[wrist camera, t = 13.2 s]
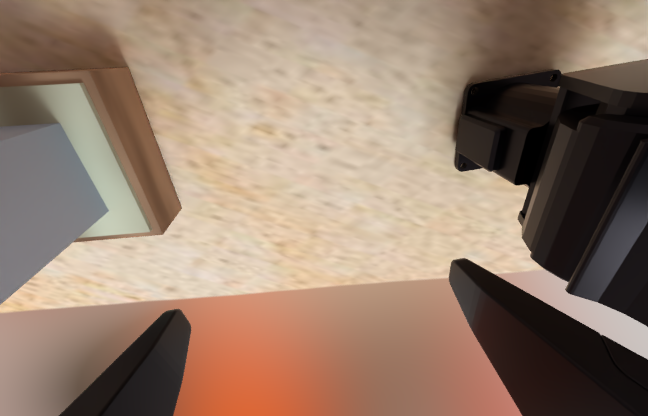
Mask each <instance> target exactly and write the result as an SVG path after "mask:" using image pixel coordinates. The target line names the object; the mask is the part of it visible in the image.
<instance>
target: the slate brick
mask: <svg viewBox="0 0 648 416" xmlns="http://www.w3.org/2000/svg"><path fill="white" fill-rule="evenodd" d="M108 211H109V210H108V208H107V207H106V205H105V203H104V201H103V199H102V198H101V196H100V194H99V192H98V190H97V189H96V187H95V185H94V183H93V181H92V180H91V178H90V176H89V174H88V172H87V171H86V169H85V167H84V165H83V163H82V162H81V160H80V158H79V156H78V155H77V153H76V151H75V149H74V147H73V146H72V144H71V142H70V140H69V138H68V137H67V135H66V133H65V131H64V129H63V128H62V126H61V124H60V123H51V124H35V125H19V126H3V127H0V304H2V303H3V302H4V301H5V300H6V299H7V298H9V297H10V296H11V295H12V294H13V293H14V292H16V291H17V290H18V289H19V288H20V287H21V286H22V285H24V284H25V283H26V282H27V281H28V280H29V279H31V278H32V277H33V276H34V275H35V274H36V273H38V272H39V271H40V270H41V269H42V268H43V267H45V266H46V265H47V264H48V263H49V262H50V261H52V260H53V259H54V258H55V257H56V256H57V255H58V254H60V253H61V252H62V251H63V250H64V249H65V248H67V247H68V246H69V245H70V244H71V243H72V242H74V241H75V240H76V239H77V238H78V237H79V236H81V235H82V234H83V233H84V232H85V231H86V230H88V229H89V228H90V227H91V226H92V225H93V224H94V223H96V222H97V221H98V220H99V219H100V218H101V217H103V216H104V215H105V214H106V213H107V212H108Z"/></svg>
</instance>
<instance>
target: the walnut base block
mask: <svg viewBox="0 0 648 416" xmlns="http://www.w3.org/2000/svg"><path fill="white" fill-rule="evenodd" d="M51 123H60V124H61V126H62V128H63V129H64V131H65V133H66V135H67V137H68V138H69V140H70V142H71V144H72V146H73V147H74V149H75V151H76V153H77V155H78V156H79V158H80V160H81V162H82V163H83V165H84V167H85V169H86V171H87V172H88V174H89V176H90V178H91V180H92V181H93V183H94V185H95V187H96V189H97V190H98V192H99V194H100V196H101V198H102V199H103V201H104V203H105V205H106V207H107V208H108V210H109V211H108V212H107V213H106V214H105V215H104V216H103V217H101V218H100V219H99V220H98V221H97V222H96V223H94V224H93V225H92V226H91V227H90V228H89V229H88V230H86V231H85V232H84V233H83V234H82V235H81V236H79V237H78V238H77V239H76V240H75V241H74V242H82V241H94V240H105V239H117V238H128V237H140V236H152V235H163V234H164V232H165V231H166V229H167V228H168V227H169V225H170V224H171V222H172V221H173V220H174V218H175V217H176V216H177V214H178V213H179V211H180V210H181V209H182V208H181V205H180V203H179V200H178V197H177V195H176V192H175V189H174V187H173V184H172V182H171V179H170V176H169V174H168V171H167V168H166V166H165V163H164V160H163V158H162V155H161V153H160V150H159V147H158V145H157V142H156V139H155V137H154V134H153V131H152V129H151V126H150V124H149V121H148V118H147V116H146V113H145V110H144V108H143V105H142V102H141V100H140V97H139V95H138V92H137V89H136V87H135V84H134V81H133V79H132V76H131V73H130V71H129V68H128V67H121V68H100V69H79V70H58V71H37V72H16V73H0V127H3V126H19V125H35V124H51Z"/></svg>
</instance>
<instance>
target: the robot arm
mask: <svg viewBox="0 0 648 416" xmlns="http://www.w3.org/2000/svg"><path fill="white" fill-rule="evenodd" d="M552 75H553V76H552ZM551 76H552V79H551V80H550V77H551ZM558 86H559V87H560V88H558ZM473 88H475V92H474V93H473V94H471V91H472V89H473ZM456 151H457V153H456V161H455V168H456V169H457V170H459V171H461V172H463V171H469V170H475V169H480V168H484V169H486V170H487V171H489V172H491V171H493V172H495V173H496V174H498V175H499V176H501V177H503V178H504V179H506V180H508V181H509V182H511V183H513V184H514V185H525V186H527V187H528V188H529V190H528V193H527V196H526V200H525V203H524V206H523V209H522V211H520V213H519V216H518V220H519V222H520V224H521V225H522V239H523V240H524V242H525V243H526V245H527V247H528V248H529V250H530V251H531V254H530V257H531V258H532V259H533V260H534V261H535V262H537V263H538V264H539V265H540V266H542V267H543V268H544V269H545V270H547V271H549V272H550V273H552V274H554V275H555V276H557V277H559V278H560V279H562V280H565V281H567V282H569V283H568V285H567V287H566V289H565V290H566V291H567V292H568V293H569V294H572V295H575V296H579V297H582V298H585V299H588V300H592V301H595V302H598V303H600V304H603V305H605V306H607V307H610V308H612V309H615V310H617V311H619V312H621V313H624V314H626V315H627V316H630V317H631V318H633V319H635V320H637V321H639V322H641V323H642V324H644V325H646V326H647V327H648V59H645V60H639V61H633V62H628V63H622V64H616V65H610V66H604V67H598V68H592V69H586V70H581V71H575V72H569V73H563V74H561V72H560V71H559V70H552V69H551V70H545V71H539V72H533V73H527V74H521V75H516V76H510V77H504V78H498V79H492V80H486V81H481V82H475V83H471V84H469V85H468V86H467V87H466V89H465V92H464V100H463V107H462V115H461V117H460V119H459V126H458V134H457V142H456ZM462 163H464V165H463V166H462V167H461V164H462ZM449 282H450V285H451V287H452V289H453V291H454V293H455V296H456V298H457V300H458V302H459V304H460V306H461V309H462V311H463V313H464V315H465V317H466V319H467V322H468V324H469V326H470V328H471V329H472V331H473V333H474V335H475V337H476V338H477V340H478V342H479V343H480V345H481V346H482V348H483V350H484V352H485V353H486V355H487V357H488V358H489V360H490V362H491V363H492V365H493V367H494V368H495V370H496V372H497V373H498V375H499V377H500V379H501V380H502V382H503V384H504V385H505V387H506V389H507V390H508V392H509V394H510V395H511V397H512V399H513V400H514V402H515V404H516V405H517V407H518V409H519V411H520V412H521V414H522V416H648V360H647V359H646V358H644V357H642V356H640V355H638V354H636V353H634V352H633V351H631V350H629V349H627V348H625V347H623V346H621V345H620V344H618V343H616V342H614V341H613V340H611V339H609V338H607V337H606V336H603V335H600V334H599V333H598V332H596V331H595V330H593V329H591V328H589V327H588V326H586V325H584V324H582V323H580V322H579V321H577V320H575V319H573V318H571V317H570V316H568V315H566V314H564V313H563V312H561V311H559V310H557V309H555V308H553V307H552V306H550V305H548V304H546V303H544V302H543V301H541V300H539V299H538V298H536V297H534V296H532V295H530V294H529V293H526V292H525V291H523V290H521V289H520V288H518V287H516V286H514V285H512V284H511V283H509V282H507V281H505V280H503V279H502V278H500V277H498V276H496V275H495V274H493V273H491V272H489V271H488V270H486V269H484V268H482V267H480V266H479V265H477V264H475V263H473V262H472V261H470V260H468V259H465V258H462V259H456V260H453V261H452V262H451V267H450V274H449ZM190 334H191V325H190V323H189V321H188V320H187V318H186V317H185V315H184V314H183V312H182V311H181V310H180V309H174V310H169V311H166V312H164V313H163V314H162V315H161V316H160V317H159V318H158V319H157V320H156V321H155V322H154V323H153V324H152V325H151V326H150V327H149V328H148V329H147V330H146V331H145V332H144V333H143V334H142V335H141V336H140V337H138V338H137V340H135V342H133V343H132V344H131V345H130V346H129V347H128V348H127V349H126V350H125V351H124V352H123V353H122V354H121V355H120V356H119V357H118V358H117V359H116V360H115V361H114V362H113V363H112V364H111V365H110V366H109V367H108V368H107V369H106V370H105V371H104V372H103V373H102V374H101V375H100V376H99V377H98V378H97V379H96V380H95V381H94V382H93V383H92V384H91V385H90V386H89V387H88V388H87V389H86V390H85V391H84V392H82V394H80V396H79V397H78V398H77V399H75V400H74V401H73V402H72V403H71V404H70V405H69V406H68V407H67V408H66V409H65V410H64V411H63V412H62V413H61V414H60V415H59V416H173V414H174V410H175V406H176V403H177V399H178V395H179V392H180V388H181V384H182V380H183V374H184V369H185V363H186V357H187V351H188V345H189V339H190Z"/></svg>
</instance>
